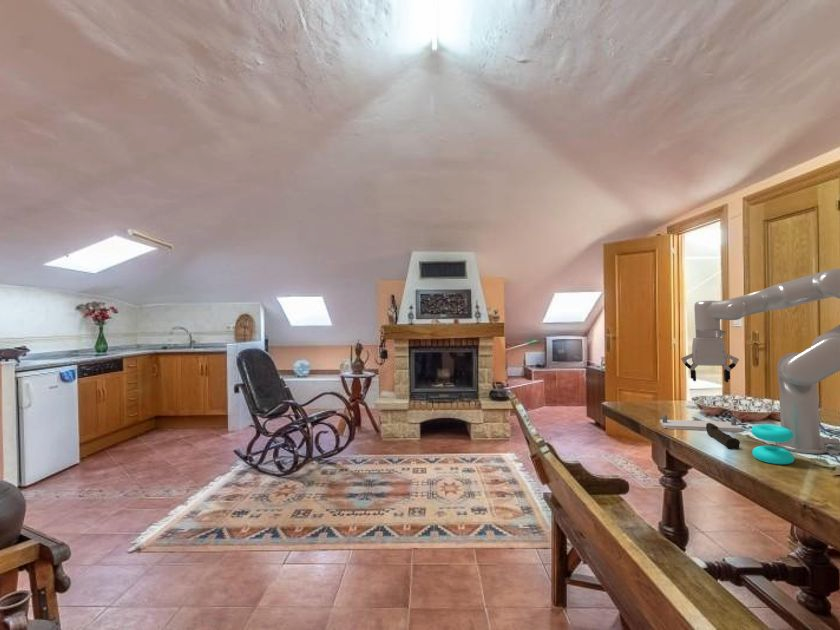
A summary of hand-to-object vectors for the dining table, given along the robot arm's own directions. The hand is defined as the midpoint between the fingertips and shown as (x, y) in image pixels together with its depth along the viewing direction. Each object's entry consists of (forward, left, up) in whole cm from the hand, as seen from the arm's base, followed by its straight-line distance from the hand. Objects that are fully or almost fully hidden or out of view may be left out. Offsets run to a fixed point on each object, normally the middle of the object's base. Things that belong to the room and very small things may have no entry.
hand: (710, 381), depth 150 cm
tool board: (0, -15, -21) cm, 26 cm away
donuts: (-10, +20, -21) cm, 31 cm away
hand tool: (-1, +2, -22) cm, 22 cm away
